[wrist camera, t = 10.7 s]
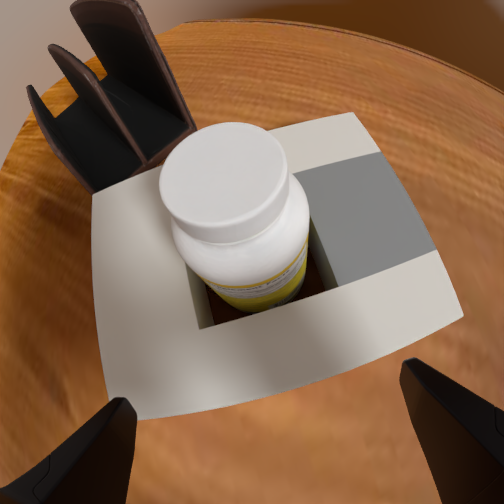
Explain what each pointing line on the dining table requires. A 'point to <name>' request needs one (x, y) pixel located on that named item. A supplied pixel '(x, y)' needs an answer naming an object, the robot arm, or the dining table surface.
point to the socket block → (277, 319)
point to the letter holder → (115, 99)
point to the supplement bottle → (238, 214)
